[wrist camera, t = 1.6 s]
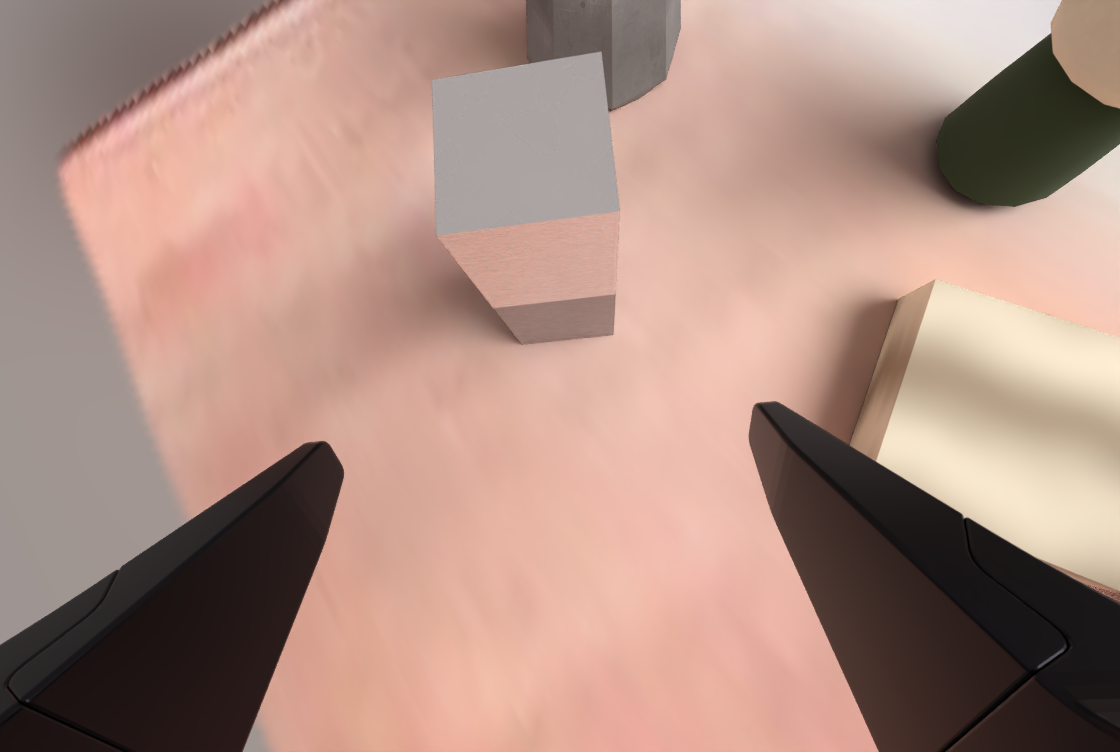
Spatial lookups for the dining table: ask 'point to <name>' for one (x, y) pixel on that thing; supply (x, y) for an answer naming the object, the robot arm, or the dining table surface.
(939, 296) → the stand
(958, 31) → the dining table surface
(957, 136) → the character mug
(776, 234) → the dining table surface
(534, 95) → the block
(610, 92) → the coffeepot
